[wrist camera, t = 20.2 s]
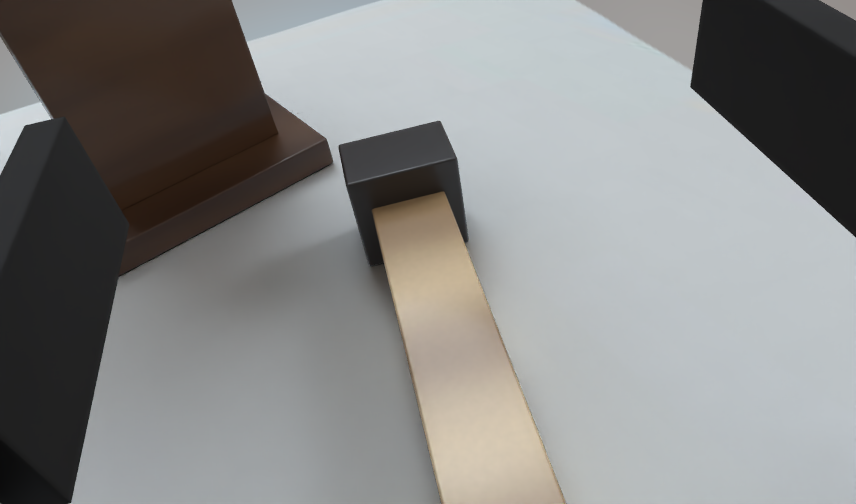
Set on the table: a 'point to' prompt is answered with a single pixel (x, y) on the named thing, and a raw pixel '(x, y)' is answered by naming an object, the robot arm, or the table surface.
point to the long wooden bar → (446, 320)
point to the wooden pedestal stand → (162, 109)
